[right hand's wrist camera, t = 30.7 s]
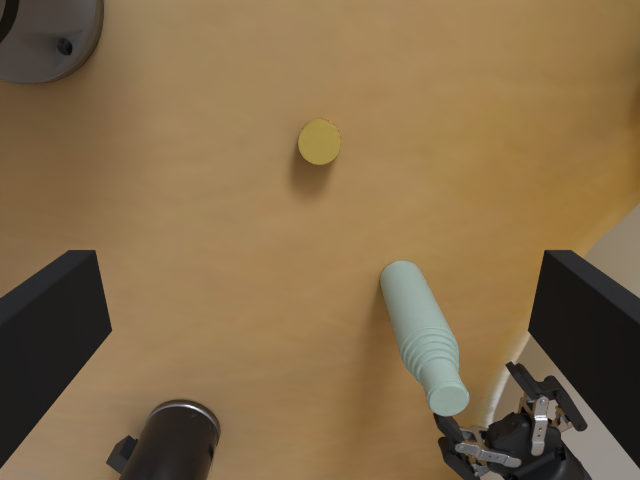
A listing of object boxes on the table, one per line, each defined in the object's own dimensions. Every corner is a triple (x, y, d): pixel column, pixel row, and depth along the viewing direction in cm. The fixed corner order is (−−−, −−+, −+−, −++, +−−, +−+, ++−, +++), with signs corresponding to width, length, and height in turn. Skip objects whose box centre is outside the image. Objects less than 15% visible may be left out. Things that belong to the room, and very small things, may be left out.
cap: (340, 160, 43) (341, 164, 40) (299, 160, 43) (298, 165, 41) (340, 118, 41) (341, 120, 39) (298, 118, 41) (296, 121, 39)
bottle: (386, 303, 49) (424, 434, 31) (374, 267, 47) (407, 384, 29) (426, 291, 48) (488, 417, 30) (416, 254, 47) (475, 366, 29)
